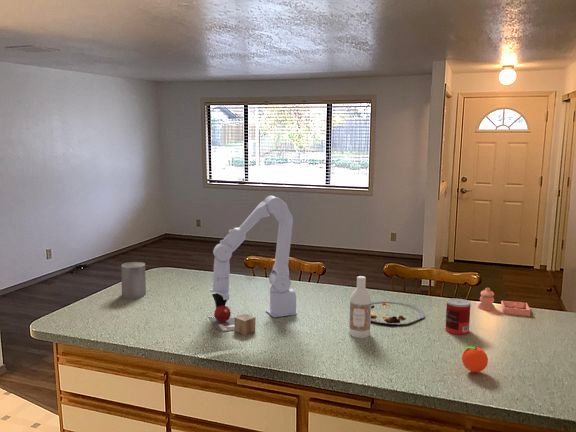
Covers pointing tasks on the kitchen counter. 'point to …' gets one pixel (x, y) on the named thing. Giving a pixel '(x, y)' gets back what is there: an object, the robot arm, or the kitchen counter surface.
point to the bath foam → (360, 310)
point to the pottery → (502, 304)
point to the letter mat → (224, 324)
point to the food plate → (394, 319)
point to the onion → (222, 313)
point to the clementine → (474, 359)
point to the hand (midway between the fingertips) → (220, 313)
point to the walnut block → (245, 324)
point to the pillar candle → (133, 280)
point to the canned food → (457, 316)
